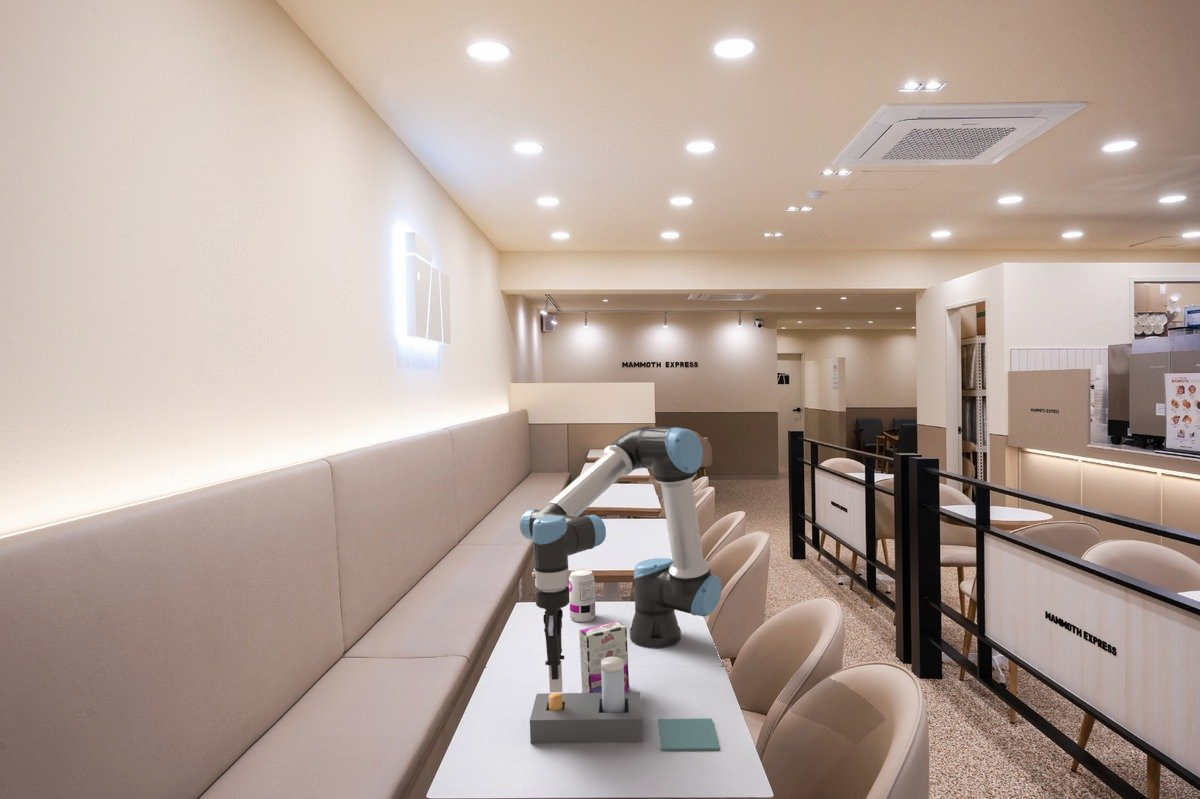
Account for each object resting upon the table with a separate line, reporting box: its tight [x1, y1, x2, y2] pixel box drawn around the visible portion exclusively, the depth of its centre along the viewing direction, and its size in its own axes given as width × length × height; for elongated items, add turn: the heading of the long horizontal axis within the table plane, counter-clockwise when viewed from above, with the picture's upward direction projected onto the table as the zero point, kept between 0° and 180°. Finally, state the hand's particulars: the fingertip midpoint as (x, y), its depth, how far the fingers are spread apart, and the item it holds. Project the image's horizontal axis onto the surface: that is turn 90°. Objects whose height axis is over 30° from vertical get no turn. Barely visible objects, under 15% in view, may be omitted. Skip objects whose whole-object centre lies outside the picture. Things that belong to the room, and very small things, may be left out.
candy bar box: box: [578, 620, 630, 693], centre depth 166 cm, size 11×5×16 cm, turn 117°
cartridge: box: [601, 657, 625, 713], centre depth 150 cm, size 5×5×15 cm
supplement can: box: [568, 568, 596, 623], centre depth 217 cm, size 8×8×15 cm
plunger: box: [549, 692, 563, 711], centre depth 150 cm, size 3×3×6 cm
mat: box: [657, 717, 720, 752], centre depth 146 cm, size 12×12×1 cm
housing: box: [529, 691, 643, 744], centre depth 150 cm, size 24×12×5 cm, turn 88°
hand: (556, 690), depth 150 cm, fingers closed
